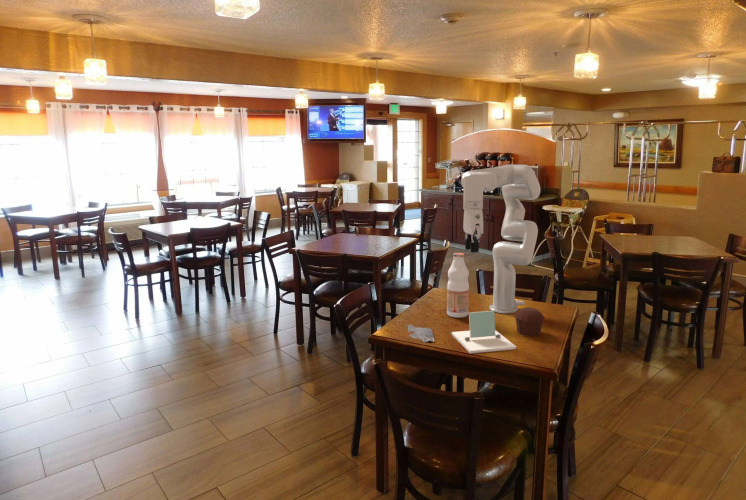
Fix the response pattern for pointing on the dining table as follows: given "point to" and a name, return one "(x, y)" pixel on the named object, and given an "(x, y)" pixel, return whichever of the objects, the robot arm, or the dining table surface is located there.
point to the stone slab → (421, 333)
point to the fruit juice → (458, 287)
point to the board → (483, 342)
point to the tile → (482, 324)
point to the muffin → (529, 321)
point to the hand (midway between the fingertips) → (471, 250)
